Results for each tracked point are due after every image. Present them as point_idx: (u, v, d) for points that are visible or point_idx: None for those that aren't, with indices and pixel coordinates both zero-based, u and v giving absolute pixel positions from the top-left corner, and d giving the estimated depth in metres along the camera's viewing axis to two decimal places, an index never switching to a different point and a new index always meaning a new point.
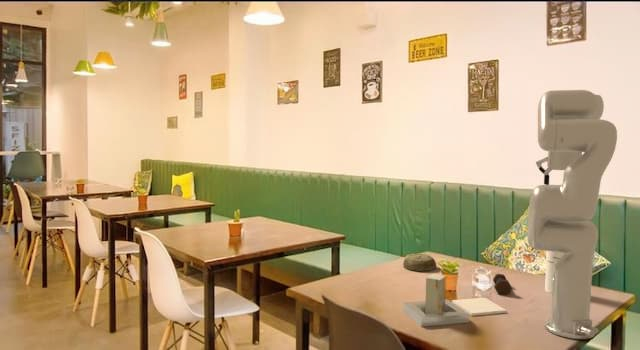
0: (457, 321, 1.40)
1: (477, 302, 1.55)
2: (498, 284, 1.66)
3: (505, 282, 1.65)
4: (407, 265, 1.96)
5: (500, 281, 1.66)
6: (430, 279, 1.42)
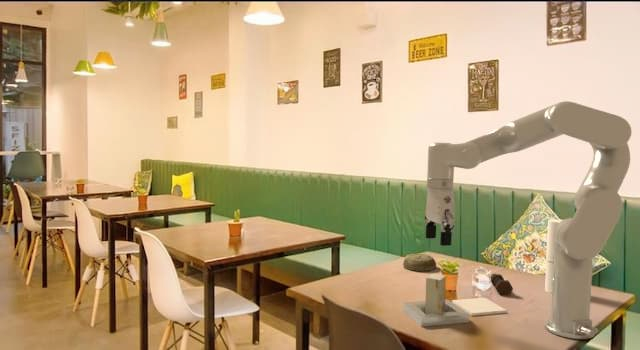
0: (457, 321, 1.40)
1: (477, 302, 1.55)
2: (499, 285, 1.65)
3: (506, 282, 1.65)
4: (407, 265, 1.96)
5: (501, 282, 1.65)
6: (430, 279, 1.42)
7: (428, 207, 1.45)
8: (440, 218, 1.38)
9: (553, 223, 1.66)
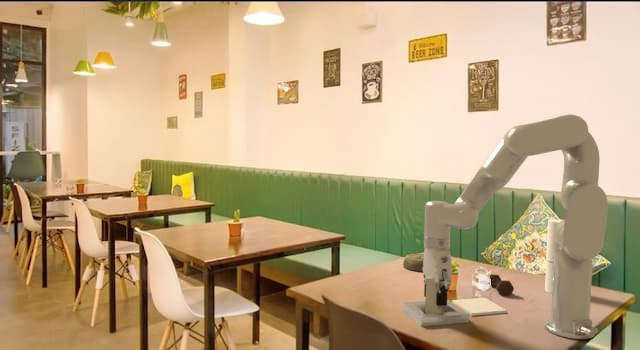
0: (457, 321, 1.40)
1: (477, 302, 1.55)
2: (501, 285, 1.65)
3: (507, 283, 1.65)
4: (407, 265, 1.96)
5: (503, 282, 1.65)
6: (430, 279, 1.42)
7: (425, 265, 1.46)
8: (437, 278, 1.39)
9: (553, 223, 1.66)
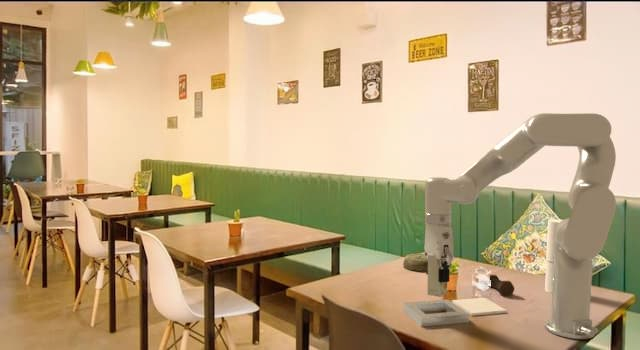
0: (457, 321, 1.40)
1: (477, 302, 1.55)
2: (502, 286, 1.64)
3: (508, 283, 1.64)
4: (407, 265, 1.96)
5: (504, 282, 1.64)
6: (432, 256, 1.42)
7: (426, 242, 1.45)
8: (439, 254, 1.39)
9: (553, 223, 1.66)
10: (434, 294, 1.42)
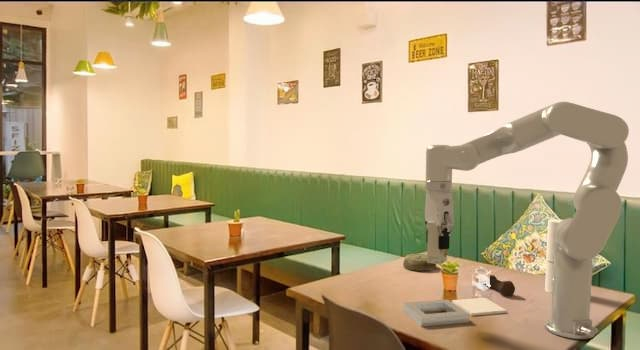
0: (457, 321, 1.40)
1: (477, 302, 1.55)
2: (504, 286, 1.64)
3: (510, 283, 1.64)
4: (407, 265, 1.96)
5: (505, 283, 1.64)
6: (432, 223, 1.41)
7: (427, 210, 1.45)
8: (439, 220, 1.38)
9: (553, 223, 1.66)
10: (434, 261, 1.41)
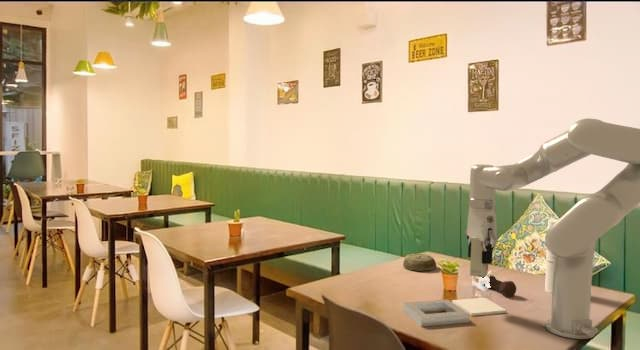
0: (457, 321, 1.40)
1: (477, 302, 1.55)
2: (506, 286, 1.63)
3: (511, 283, 1.64)
4: (407, 265, 1.96)
5: (507, 283, 1.64)
6: (475, 239, 1.49)
7: (469, 226, 1.53)
8: (483, 236, 1.46)
9: (553, 223, 1.66)
10: (477, 275, 1.50)
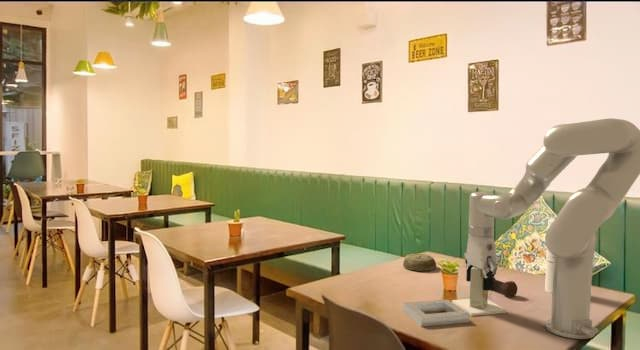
0: (457, 321, 1.40)
1: None
2: (508, 287, 1.63)
3: (513, 283, 1.64)
4: (407, 265, 1.96)
5: (509, 283, 1.63)
6: (475, 270, 1.50)
7: (469, 253, 1.54)
8: (483, 264, 1.47)
9: None
10: (476, 305, 1.50)
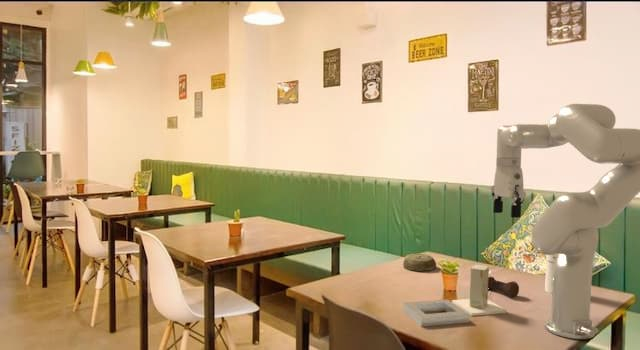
0: (457, 321, 1.40)
1: None
2: (510, 287, 1.62)
3: (515, 284, 1.63)
4: (407, 265, 1.96)
5: (511, 284, 1.63)
6: (475, 270, 1.50)
7: (496, 184, 1.61)
8: (511, 193, 1.54)
9: None
10: (476, 305, 1.50)
